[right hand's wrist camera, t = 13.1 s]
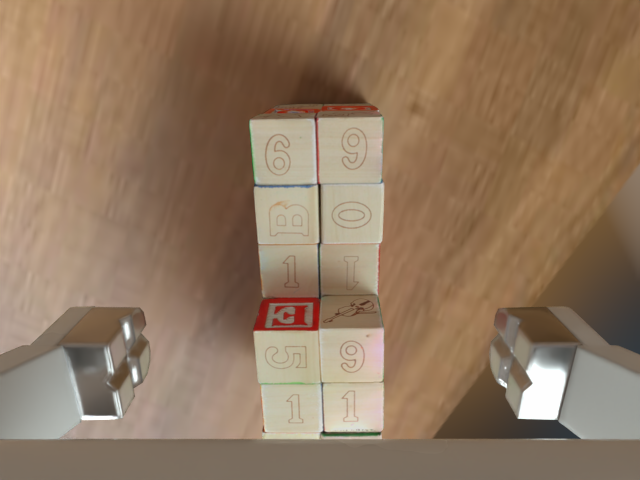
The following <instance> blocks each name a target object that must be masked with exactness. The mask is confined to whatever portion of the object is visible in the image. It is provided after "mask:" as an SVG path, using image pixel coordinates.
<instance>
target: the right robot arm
mask: <svg viewBox="0 0 640 480" xmlns="http://www.w3.org/2000/svg"><path fill="white" fill-rule="evenodd" d="M145 326H146V321H145V316H144V312H143V311H142V310H141V309H140V308H132V307H95V306H90V307H71V308H69V309H68V310H67V311H66V312H65V313H64V314H63V315H62V316H61V317H60V318H59V319H58V320H57V321H55V322H54V323H53V324H52V325H51V326H50V327H49V328H48V329H47V330H46V331H45V332H44V333H43V334H42V335H41V336H40V337H38V338H37V339H36V340H35V341H34V342H33V343H32V344H31V345H29V346H20V347H18V348H16V349H13V350H11V351H8V352H6V353H4V354H1V355H0V480H640V355H639V354H636V353H634V352H632V351H629V350H627V349H624V348H622V347H620V346H611V345H609V344H608V343H607V342H606V341H605V340H604V339H603V338H602V337H601V336H599V335H598V334H597V333H596V332H595V331H594V330H593V329H592V328H591V327H590V326H589V325H588V324H587V323H586V322H585V321H584V320H582V319H581V318H580V317H579V316H578V315H577V314H576V313H575V312H574V311H573V310H572V309H571V308H568V307H565V306H560V307H520V308H499V309H498V311H497V313H496V315H495V320H494V326H495V328H496V329H497V331H498V332H499V334H498V335H497V336H496V337H495V338H494V339H493V340H492V341H491V345H490V353H489V356H490V366H491V369H492V373H493V375H494V377H495V379H496V381H497V383H499V384H500V385H502V386H504V387H505V388H507V389H506V395H505V397H506V399H507V400H508V402H509V404H510V406H511V407H512V409H513V411H514V413H515V414H516V416H517V418H518V419H551V420H559V422H560V423H561V424H563V425H564V426H565V427H567V428H568V429H569V430H571V431H572V432H573V433H575V434H576V435H577V436H579V437H580V438H581V439H59V438H60V437H62V436H63V435H64V434H66V433H67V432H68V431H70V430H71V429H72V428H74V427H75V426H76V425H77V424H79V423H80V422H81V420H89V419H122V418H123V416H124V414H125V413H126V411H127V409H128V407H129V406H130V404H131V402H132V400H133V399H134V397H135V395H134V389H133V388H135V387H136V386H138V385H140V384H141V383H143V381H144V379H145V377H146V375H147V373H148V369H149V365H150V345H149V341H148V340H147V339H146V338H145V337H144V336H143V335H142V334H141V332H142V331H143V329H144V328H145Z"/></svg>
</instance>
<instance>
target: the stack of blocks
mask: <svg viewBox="0 0 640 480" xmlns="http://www.w3.org/2000/svg"><path fill="white" fill-rule="evenodd" d="M383 126H384V119H383V116H382V115H381V114H380V113H379V109H377V108H376V107H375V106H373V105H371V104H369V103H366V104H289V105H277V106H275V107H274V108H272V109H269V110H268V111H266V112H265V113H264V114H259V115H257V116H255V117H253V118H252V119H250V120H249V129H250V141H251V152H252V166H253V174H254V181H255V185H254V201H255V213H256V225H257V237H258V254H259V266H260V276H261V287H262V294H263V296H264V298H263V300H262V302H261V305H260V309H259V312H258V315H257V319H256V323H255V326H254V330H253V334H254V344H255V354H256V364H257V375H258V382H259V383H260V388H261V403H262V412H263V424H264V425H263V430H262V439H382V435H381V431H382V429H383V428H384V382H383V378H384V326H383V321H382V315H381V309H380V304H379V299H378V293H379V262H380V243H381V242H382V236H383V215H384V182H383V180H382V156H383Z"/></svg>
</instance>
